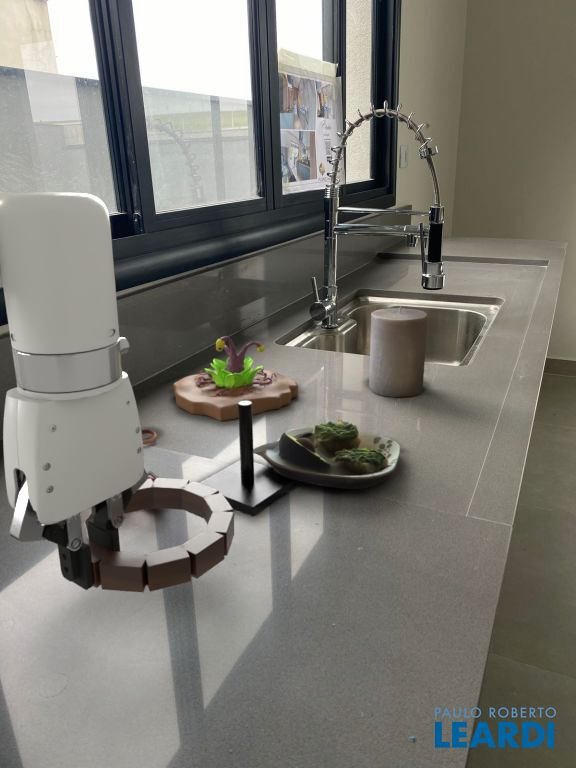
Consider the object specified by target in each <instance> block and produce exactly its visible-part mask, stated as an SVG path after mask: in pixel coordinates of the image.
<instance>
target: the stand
mask: <svg viewBox="0 0 576 768" xmlns="http://www.w3.org/2000/svg"><path fill="white" fill-rule="evenodd" d="M238 414H239V418H238V436H239V437H238V439H239V460H236V462H233V463H232V464H229V465H228V466H227V467H225V468H223V469H220V470H219V471H218V472H216V473H214V474H212V475H210V476H208V477H207V478H205V479H203V480H201V481H199V483H201V484H203V485H206V486H208V487H211V488H213V489H216V490H218V491H219V493H222V494H223V495H224V497H225V498H226V500H227V501H228V502H229V504H230V505H231V507H232V508H233V510H236V511H238V512H241V513H244V514H246V515H249V516H252V517H255V516H257V515H258V514H259V513H261V512H262V511H264V510H265V509H266V508H268V507H270V506H271V505H273V504H274V503H275V502H277V501H278V500H280V499H281V498H283V497H285V495H287V494H288V493H290V492H292V491H293V490H294V489H296V488H297V487H298V486H300V481H297V480H293V479H289V478H287V477H284V476H282V475H280V474H279V473H277V472H276V471H275V470H274V469H273V467H272V466H268V465H265V464H262V463H259V462H255V459H254V458H255V457H254V455H255V454H254V453H253V449H254V426H253V425H254V422H253V415H252V402H250V401H240V402H239V403H238Z"/></svg>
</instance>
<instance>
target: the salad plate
mask: <svg viewBox="0 0 576 768" xmlns="http://www.w3.org/2000/svg"><path fill="white" fill-rule="evenodd" d="M357 427H358V426H357V425H355V424H353V423H352V422H350V423H349V422H348V421H343V419H338V420H337V422H332V421H331V420H329V421H327V423H320V424H315V425H314V426H306V427H297V428H292V429H288V430H287V431H286V432H283V433H282V434H281V436H280V437H279V438H278V439H277V440H276V441H273V442H268V443H264V444H262V445H260V446H257V447H254V448H253V453H254V455H258V456H260V457H261V458H262V459H264V460H265V462H267V463H268V464H269V465H270V467H272V468H273V469H274V470H275V471H276V472H277V473H279V474H280V475H282V476H284V477H287V478H289V479H293V480H297V481H299V482H303V483H306V484H312V485H317V486H322V487H327V488H336V489H347V490H348V489H349V490H350V489H353V490H354V489H355V490H356V489H357V490H358V489H368V488H372V487H376V486H378V485H379V484H381V483H383V482H384V481H386V480H387V479H389V478H390V477H391V476H393V475H394V474H395V472H396V471H397V464H398V461H399V458H400V455H401V446H400V444H399V443H398V442H397V441H395V440H393V439H391V438H389V437H386V436H383V435H379V434H372V433H371V434H370V433H360V432H359V430H358V428H357Z"/></svg>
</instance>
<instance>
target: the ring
mask: <svg viewBox="0 0 576 768" xmlns="http://www.w3.org/2000/svg"><path fill="white" fill-rule="evenodd" d="M151 478H152V477H151ZM151 478H150V479H147V481H146V482H145V483H144V484H143V485H142V486H141V487H140V488H139V489H138V490H137V491H136V492H135V493H133V495H132V498H131V500H130V502H129V504H128V505H127V507H126V509H125V511H124V515H126V514H130V513H135V512H140V511H145V510H150V509H155V508H156V509H166V510H181V511H185V512H186V513H189V514H192V515H194V516H197V517H199V518H201V519H203V520H204V521H205V523H206V524H207V525H206V527H205V529H204V530H203V531H201V532H199V533H198V534H196V535H194V536H193V537H191V538H190V539H188V540H186V541H185V542H183V543H181V544H180V545H177V546H172V547H168V548H163V549H159V550H155V551H154V550H153V551H150V552H147V553H145V552H133V551H121V550H120V551H111V550H109V549H107V548H105V547H103V546H101V545H99V544H98V543H96V542H94V541H92V540H90V539H89V536H88V527H87V526H88V520H90V519H92V518H94V517H93V515H92V509H91V507H90V508H88V509H86V510H84V511H82V512H80V517H81V527H82V537H83V542H84V543H86V544H88V545H89V546H90V550H91V559H92V562H91V563H92V572H93V581H94V584H93V586H92V587H93V588H95V589H98V587H101V590H104V591H116V592H117V591H118V592H128V593H129V592H130V593H142V594H143V593H144V592H145V590H146V587H147V588H148V589H147V590H148V592H154V591H158V590H159V591H160V590H163V589H166V588H170V587H174V586H178V585H181V584H185V583H190V582H192V578H193V579H196V580H198V579H199V578H201V577H202V576H203V575H204V574H206V573H207V572H209V571H210V570H212V569H213V568H214V567H216V566H217V565H218V564H220V563H221V562H223V561H224V560H225V557H227V556H228V554H229V551H230V549H231V545H232V543H233V540H234V537H235V511H234V509H233V508H232V507H231V505H230V504H229V502H228V501H227V500H226V498H225V497H224V495H223V494H222V493H219V491H218V490H216V489H213V488H211V487H208V486H206V485H203V484H201V483H200V482H198V481H196V480H193V481H190V479H184V478H183V479H182V478H169V477H168V478H165V477H159V478H156V479H155V481H154V482H153V481H152V479H151Z"/></svg>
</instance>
